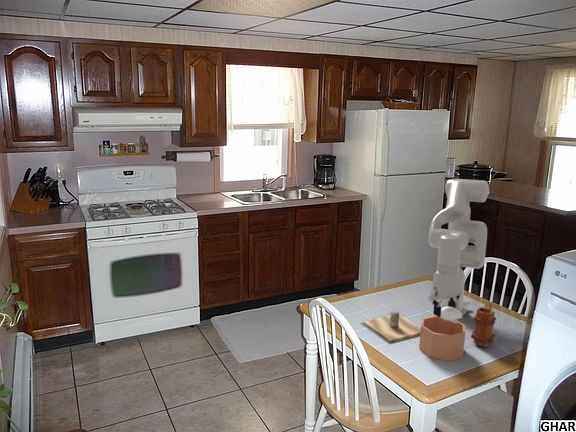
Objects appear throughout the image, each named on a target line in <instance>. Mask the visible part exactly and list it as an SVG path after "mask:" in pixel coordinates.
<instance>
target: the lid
mask: <svg viewBox="0 0 576 432" xmlns="http://www.w3.org/2000/svg"><path fill="white" fill-rule="evenodd" d="M389 313H390V314H389V315H386V316H381V317H378V318H374V319H373V318H372V319H369V320H364V321H363V322H364V323H363V322H362V323H363V324H365V325H366V326H367V327H369V328H370V329H372V330H373V331H374V332H376V333H377V334H378V335H380V336H381V337H383V338H384V339H385V340H387V341H388V342H389V343H390V342H394V341H398V340H402V339H406V338H410V337H414V336H417V335H420V331H421V326H418V325H417V324H415V323H413V322H412V321H410V320H409V319H407V318H405V317H404V316H403V315H400V312H399V311H396V310H391V311H390V312H389Z"/></svg>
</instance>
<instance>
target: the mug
mask: <svg viewBox="0 0 576 432" xmlns="http://www.w3.org/2000/svg"><path fill="white" fill-rule="evenodd" d="M492 308H493V303H492V302H491V301H485V303H484V307H483V306H482V307H481V306H480V307H478V308H477V309H476V313H475V314H474V317H473V318H472V319H473V321H475V322H474V329H473V330H472V334H471V335H470V337H471V339H473V343H474V344H475V345H477V346H480V347H490V346H491V345H492V343H493V342H494V338H496V334H494V333H493V332H494V325H495V323H496V320H497V318H496V317H495V311H494V309H492Z"/></svg>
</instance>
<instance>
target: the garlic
mask: <svg viewBox="0 0 576 432" xmlns="http://www.w3.org/2000/svg"><path fill="white" fill-rule="evenodd" d="M440 317H441V318H442V319H444V320H448V321H449V320H450V321H451V322H454V323H457V322H455V321H453V320H457V321H458V320H459V319H463V316H462V313H461V311H459V310H457V309H456V308H453V307H443V308H441V316H440Z"/></svg>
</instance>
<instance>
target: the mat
mask: <svg viewBox="0 0 576 432" xmlns="http://www.w3.org/2000/svg"><path fill="white" fill-rule="evenodd" d="M363 323H364V321H363V322H360V325H362V326H363V327H365V328H366V329H367V330H369V331H370V332H371V333H373V334H374V335H375V336H377V337H378V338H379V339H381V340H382V341H384V342H385V343H387V344H388V345H392V344H397V343H400V342H405V341H407V340H411V339H415V338H420V335H417V336H414V337H410V338H406V339H402V340H398V341H394V342H390V343H389V342H388V341H387V340H385V339H384V338H383V337H381V336H380V335H378V334H377V333H376V332H374V331H373V330H372V329H370V328H369V327H367V326H366V325H365V324H363Z"/></svg>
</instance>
